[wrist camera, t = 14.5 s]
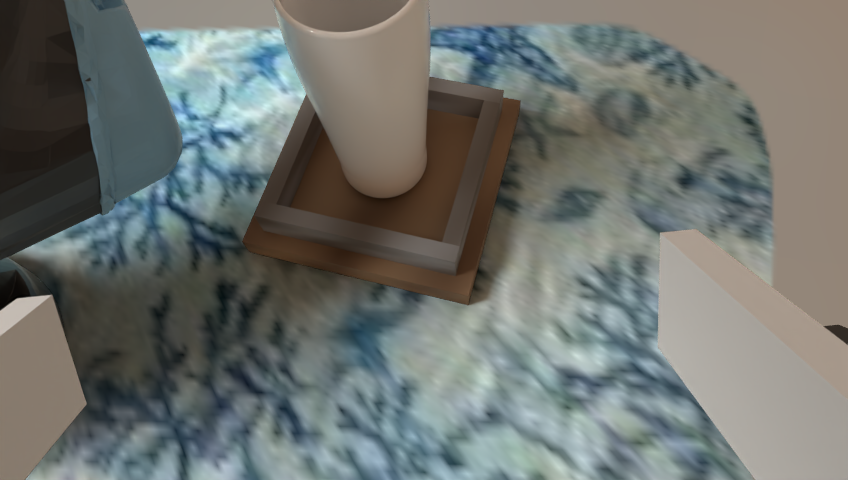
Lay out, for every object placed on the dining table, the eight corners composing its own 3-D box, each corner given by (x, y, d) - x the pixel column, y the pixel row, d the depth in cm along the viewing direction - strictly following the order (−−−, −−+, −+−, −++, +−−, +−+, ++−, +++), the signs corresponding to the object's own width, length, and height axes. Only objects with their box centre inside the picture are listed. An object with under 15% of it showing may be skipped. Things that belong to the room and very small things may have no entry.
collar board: (249, 251, 41) (231, 226, 38) (324, 77, 46) (313, 42, 43) (468, 305, 38) (468, 283, 35) (518, 114, 44) (522, 80, 41)
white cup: (348, 113, 43) (295, -88, 30) (449, 129, 42) (442, -71, 29) (318, 202, 40) (244, 26, 27) (425, 221, 39) (405, 48, 26)
